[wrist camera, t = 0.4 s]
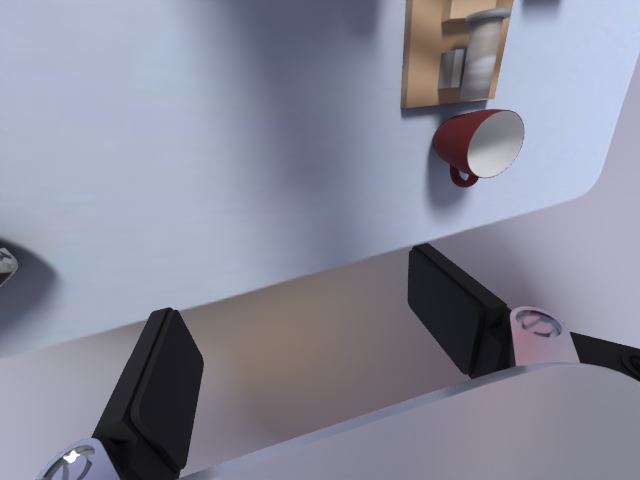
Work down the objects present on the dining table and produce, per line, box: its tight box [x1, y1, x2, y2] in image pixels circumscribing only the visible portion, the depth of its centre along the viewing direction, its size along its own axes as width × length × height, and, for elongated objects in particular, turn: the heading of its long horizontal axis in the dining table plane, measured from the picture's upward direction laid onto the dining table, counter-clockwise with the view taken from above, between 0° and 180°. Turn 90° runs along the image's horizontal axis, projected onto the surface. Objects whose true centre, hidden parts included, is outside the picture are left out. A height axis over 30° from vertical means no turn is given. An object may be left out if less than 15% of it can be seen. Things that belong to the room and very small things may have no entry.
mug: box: [433, 109, 524, 187], centre depth 38 cm, size 11×8×10 cm
